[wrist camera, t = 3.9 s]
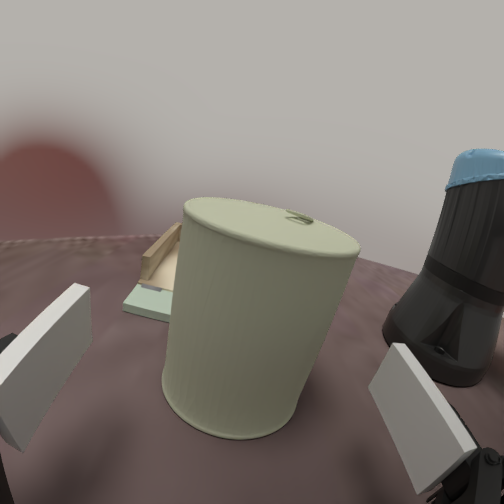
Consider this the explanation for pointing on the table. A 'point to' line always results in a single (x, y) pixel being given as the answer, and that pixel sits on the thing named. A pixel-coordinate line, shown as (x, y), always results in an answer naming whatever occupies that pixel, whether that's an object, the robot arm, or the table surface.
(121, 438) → the table surface
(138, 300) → the tailgate
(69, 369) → the robot arm
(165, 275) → the tray
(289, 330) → the can
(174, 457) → the table surface
